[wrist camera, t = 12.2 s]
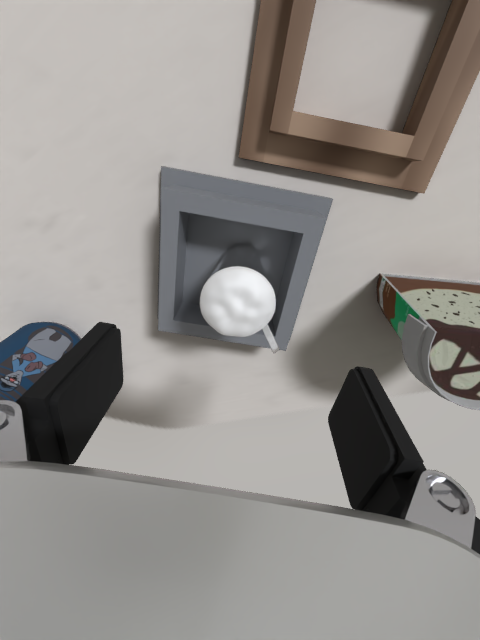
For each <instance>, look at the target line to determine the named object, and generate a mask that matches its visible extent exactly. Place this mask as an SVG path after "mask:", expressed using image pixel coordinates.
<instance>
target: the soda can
mask: <svg viewBox="0 0 480 640" xmlns="http://www.w3.org/2000/svg"><path fill="white" fill-rule="evenodd" d="M80 340H81V338H80V337H79V336H78V335H77V334H76V333H75V332H74V331H73V330H71V329H70V328H68V327H66V326H64V325H62V324H58V323H53V322H37V323H31V324H28V325H25V326H23V327H22V328H20V329H19V330H17V331H16V332H15V333H13V334H12V335H10V336H9V337H8V338H6V339H5V340H3V341H2V342H0V400H9V401H13V402H16V401H17V400H18V399H19V398H20V397H21V396H22V395H23V394H24V393H25V392H26V391H27V390H28V389H29V388H30V387H31V386H32V385H33V384H34V383H35V382H36V381H37V380H38V379H39V378H40V377H41V376H42V375H43V374H44V373H45V372H46V371H48V370H49V369H50V368H51V367H52V366H53V365H54V364H55V363H56V362H57V361H58V360H59V359H60V358H61V357H62V356H63V355H64V354H65V353H67V352H68V351H70V350H71V349H72V348H73V347H74V346H75V345H76V344H77V343H78V342H79V341H80Z"/></svg>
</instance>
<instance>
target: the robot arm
mask: <svg viewBox="0 0 480 640" xmlns="http://www.w3.org/2000/svg"><path fill="white" fill-rule="evenodd" d="M122 384H123V367H122V349H121V332H120V329H117V328H116V325H114V324H109V323H104V322H99V323H97V324H96V325H95V326H94V327H93V328H92V329H91V330H90V331H89V332H88V333H87V334H86V335H85V336H84V337H83V338H82V339H81V340H80V341H79V342H78V343H77V344H76V345H75V346H74V347H73V348H72V349H71V350H70V351H68V352H67V353H65V354H64V355H63V356H62V357H61V358H60V359H59V360H58V361H57V362H56V363H55V364H54V365H53V366H52V367H51V368H50V369H49V370H48V371H46V372H45V373H44V374H43V375H42V376H41V377H40V378H39V379H38V380H37V381H36V382H35V383H34V384H33V385H32V386H31V387H30V388H29V389H28V390H27V391H26V392H25V393H24V394H23V395H22V396H21V397H20V398H19V399H18V400H17V401H16V402H13V401H9V400H0V640H480V520H479V519H478V518H477V517H476V511H475V506H474V503H473V501H472V499H471V497H470V496H469V495H468V493H467V492H466V491H465V489H464V488H463V487H462V486H461V485H460V484H459V483H457V482H456V481H455V480H453V479H452V478H451V477H449V476H447V475H445V474H444V473H442V472H439V471H436V470H426V468H425V466H424V464H423V460H422V458H421V456H420V455H419V453H418V451H417V449H416V447H415V445H414V444H413V442H412V440H411V438H410V436H409V434H408V433H407V431H406V429H405V427H404V425H403V424H402V422H401V420H400V418H399V416H398V415H397V413H396V411H395V409H394V407H393V406H392V404H391V402H390V400H389V398H388V396H387V395H386V393H385V391H384V389H383V387H382V386H381V384H380V382H379V380H378V378H377V376H376V375H375V373H374V371H373V370H372V369H369V368H363V367H356V368H355V369H351V370H350V371H349V373H348V375H347V378H346V380H345V382H344V384H343V386H342V388H341V390H340V392H339V394H338V397H337V399H336V401H335V403H334V405H333V407H332V409H331V411H330V414H329V417H328V422H329V427H330V431H331V434H332V438H333V442H334V446H335V449H336V453H337V457H338V461H339V464H340V468H341V472H342V476H343V479H344V483H345V486H346V490H347V494H348V498H349V502H350V505H351V507H352V508H353V509H348V508H343V507H338V506H331V505H325V504H319V503H313V502H307V501H301V500H295V499H289V498H283V497H276V496H270V495H264V494H258V493H252V492H245V491H239V490H232V489H226V488H220V487H214V486H207V485H201V484H195V483H188V482H182V481H175V480H169V479H162V478H156V477H149V476H142V475H136V474H129V473H122V472H116V471H110V470H103V469H94V468H88V467H80V466H73V465H69V464H74V463H75V462H76V460H77V459H78V457H79V456H80V454H81V452H82V451H83V449H84V448H85V446H86V444H87V443H88V441H89V439H90V438H91V436H92V435H93V433H94V431H95V430H96V428H97V426H98V425H99V423H100V421H101V420H102V418H103V417H104V415H105V414H106V412H107V410H108V409H109V407H110V405H111V404H112V402H113V401H114V399H115V397H116V396H117V394H118V392H119V391H120V389H121V387H122ZM354 509H355V510H354Z"/></svg>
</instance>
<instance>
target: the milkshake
mask: <svg viewBox="0 0 480 640" xmlns="http://www.w3.org/2000/svg"><path fill="white" fill-rule="evenodd" d="M275 307H276V298H275V293H274V290H273V288H272V286H271V283H270V281H269V279H268V277H267V275H266V273H265V270H264V267H263V264H262V262H261V259H260V256H259V254H258V253H257V252H256V251H255V250H254V249H253V248H252V247H251V246H248V245H240V244H237V245H235V246H233V247H232V248H230V249H228V250H227V251H226V252H225V254H224V256H223V257H222V259H221V261H220V262H219V264H218V266H217V267H216V269H215V270H214V272H213V273H212V274H211V276H210V277H209V279H208V280H207V281H206V283H205V284H204V286H203V289H202V291H201V295H200V309H201V313H202V316H203V318H204V319H205V321H206V322H207V323H208V324H209V325H210V326H211V327H212V328H214V329H215V330H216V331H217V332H218V333H220V334H222V335H226V336H236V337H246V336H250V335H252V334H255V333H256V332H258V331H260V330H261V329H262V330H263V332H264V334H265V336H266V338H267V341H268V343H269V345H270V347H271V349H272V352H273V353H276V352H277V351H278V350H279V347H278V345H277V343H276V341H275V339H274V337H273V334H272V332H271V330H270V328H269V326H268V323H269V321H270V320H271V318H272V317H273V315H274V312H275Z"/></svg>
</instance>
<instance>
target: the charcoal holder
mask: <svg viewBox="0 0 480 640" xmlns="http://www.w3.org/2000/svg"><path fill="white" fill-rule="evenodd" d="M332 200H333V199H332V198H327V197H322V196H317V195H312V194H306V193H301V192H296V191H291V190H285V189H280V188H275V187H269V186H264V185H259V184H254V183H248V182H243V181H238V180H232V179H227V178H222V177H217V176H211V175H206V174H201V173H195V172H190V171H185V170H180V169H174V168H169V167H164V166H161V200H160V241H159V282H158V331H165V332H171V333H177V334H184V335H190V336H196V337H202V338H209V339H215V340H221V341H228V342H234V343H240V344H247V345H253V346H259V347H266V348H271V347H270V345H269V343H268V341H267V338H266V336H265V334H264V332H263V330H262V329H261V330H260V331H258V332H256V333H255V334H252V335H250V336H246V337H236V336H226V335H222V334H220V333H218V332H217V331H216V330H215V329H214V328H212V327H211V326H210V325H209V324H208V323H207V322H206V321H205V319H204V318H203V316H202V313H201V309H200V295H201V291H202V289H203V286H204V284H205V283H206V281H207V280H208V279H209V277H210V276H211V274H212V273H213V272H214V270H215V269H216V267H217V266H218V264H219V262H220V261H221V259H222V257H223V256H224V254H225V252H226V251H227V250H228V249H230V248H232V247H233V246H235V245H237V244H240V245H248V246H251V247H252V248H253V249H254V250H255V251H256V252H257V253H258V254H259V256H260V259H261V262H262V264H263V267H264V270H265V273H266V275H267V277H268V279H269V281H270V283H271V286H272V288H273V290H274V293H275V298H276V307H275V312H274V315H273V317H272V318H271V320H270V321H269V323H268V326H269V328H270V330H271V332H272V334H273V337H274V339H275V341H276V343H277V345H278V347H279V350H284V351H286V348H287V345H288V342H289V340H290V337H291V334H292V331H293V328H294V324H295V321H296V318H297V315H298V311H299V308H300V305H301V301H302V298H303V295H304V292H305V288H306V285H307V282H308V279H309V275H310V272H311V269H312V266H313V262H314V259H315V256H316V253H317V249H318V246H319V243H320V239H321V236H322V233H323V230H324V226H325V223H326V220H327V217H328V213H329V210H330V207H331V204H332Z"/></svg>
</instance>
